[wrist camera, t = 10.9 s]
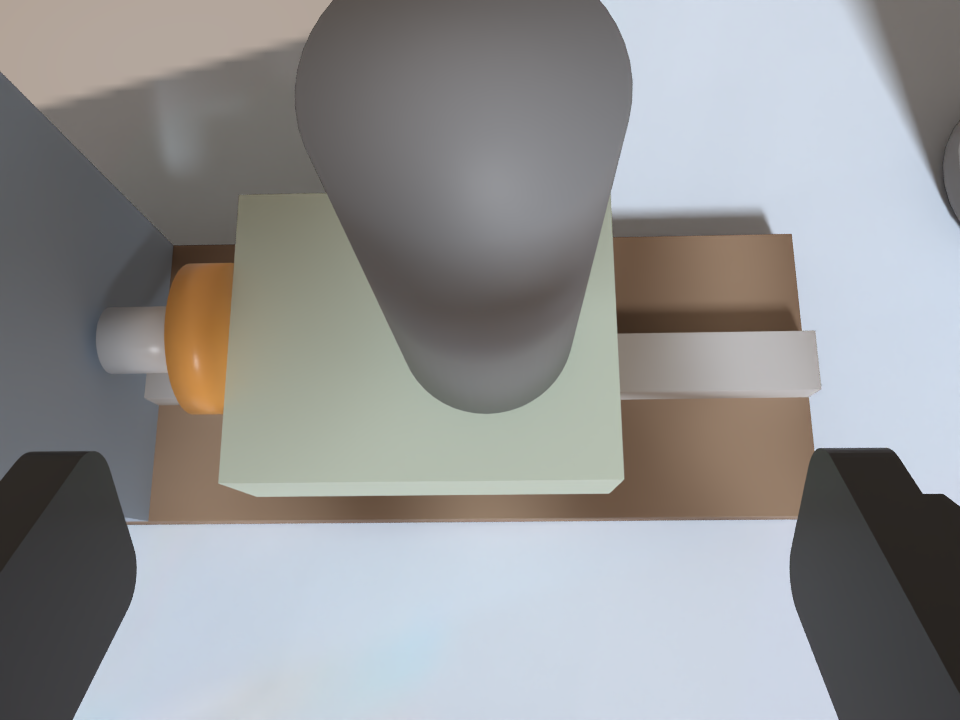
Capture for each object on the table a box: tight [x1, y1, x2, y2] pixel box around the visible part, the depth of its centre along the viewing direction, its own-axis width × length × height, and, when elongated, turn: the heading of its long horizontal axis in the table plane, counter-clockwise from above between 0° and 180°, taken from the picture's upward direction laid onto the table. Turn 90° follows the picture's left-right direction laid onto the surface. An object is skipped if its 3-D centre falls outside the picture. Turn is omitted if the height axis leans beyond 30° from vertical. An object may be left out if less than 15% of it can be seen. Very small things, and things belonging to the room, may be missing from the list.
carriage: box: [218, 0, 632, 497], centre depth 17 cm, size 9×7×13 cm
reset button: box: [96, 263, 234, 415], centre depth 21 cm, size 3×4×4 cm
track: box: [126, 234, 821, 525], centre depth 24 cm, size 22×8×2 cm, turn 90°
